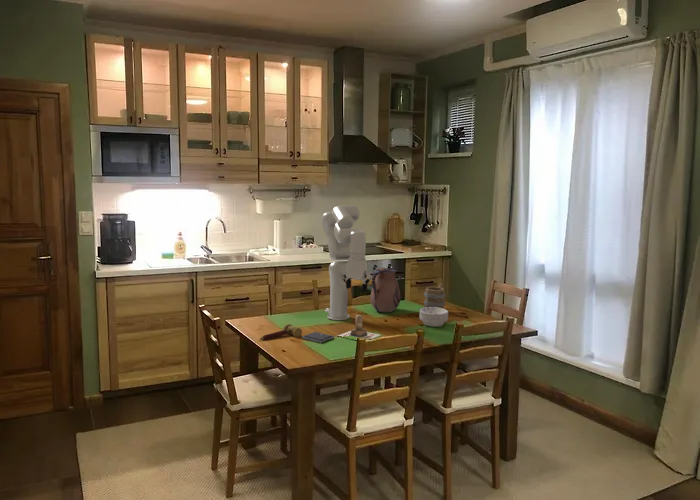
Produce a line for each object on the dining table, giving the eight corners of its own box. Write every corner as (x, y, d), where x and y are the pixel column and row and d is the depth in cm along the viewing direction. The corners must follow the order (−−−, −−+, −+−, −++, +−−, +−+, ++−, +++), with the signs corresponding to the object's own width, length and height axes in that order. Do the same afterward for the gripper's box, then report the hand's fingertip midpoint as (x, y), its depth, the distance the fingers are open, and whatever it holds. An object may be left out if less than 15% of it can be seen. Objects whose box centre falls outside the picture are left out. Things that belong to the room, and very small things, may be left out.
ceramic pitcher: (404, 309, 335) (406, 268, 331) (388, 317, 317) (390, 273, 313) (378, 305, 344) (379, 265, 340) (361, 313, 326) (362, 270, 322)
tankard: (440, 315, 323) (441, 289, 321) (419, 312, 329) (420, 287, 327) (452, 308, 340) (453, 284, 338) (432, 305, 347) (433, 281, 344)
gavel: (264, 337, 266) (254, 332, 274) (265, 346, 267) (254, 341, 274) (301, 327, 279) (290, 322, 286) (302, 336, 279) (291, 331, 287)
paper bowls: (441, 330, 294) (441, 315, 293) (414, 325, 302) (414, 310, 300) (452, 323, 306) (452, 309, 305) (426, 319, 314) (426, 305, 313)
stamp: (350, 335, 280) (350, 315, 278) (357, 332, 284) (357, 313, 283) (360, 337, 276) (360, 317, 275) (367, 335, 281) (367, 315, 280)
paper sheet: (336, 336, 279) (336, 335, 279) (354, 329, 291) (354, 329, 291) (363, 342, 270) (363, 341, 270) (380, 335, 282) (380, 334, 282)
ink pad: (301, 338, 274) (301, 335, 274) (314, 334, 282) (315, 331, 282) (321, 343, 267) (321, 340, 267) (334, 338, 275) (334, 335, 275)
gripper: (338, 254, 281) (338, 288, 284) (367, 259, 271) (366, 294, 274) (347, 252, 287) (346, 285, 290) (376, 257, 277) (375, 291, 280)
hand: (356, 289), depth 282 cm, fingers open, 9 cm apart
